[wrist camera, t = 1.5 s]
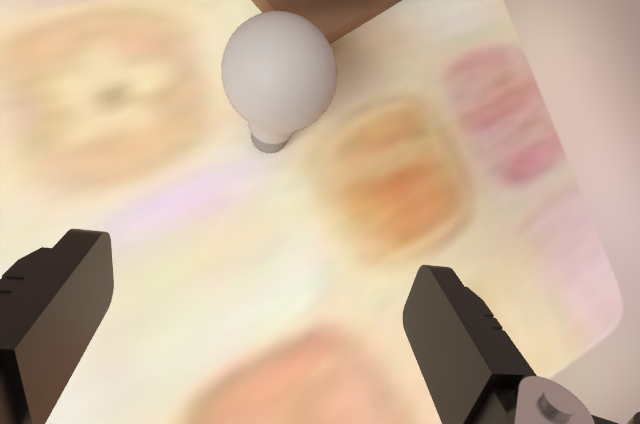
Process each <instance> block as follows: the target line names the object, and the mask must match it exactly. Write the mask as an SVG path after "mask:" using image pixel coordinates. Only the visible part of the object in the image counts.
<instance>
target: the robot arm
mask: <svg viewBox="0 0 640 424" xmlns="http://www.w3.org/2000/svg"><path fill="white" fill-rule="evenodd" d="M113 288H114V280H113V265H112V251H111V239H110V235H109V234H108V233H107V232H101V231H91V230H81V229H70V230H69V231H68V232H67V233H66V234H65V235H64V236H63V237H62V238H61V239H60V240H59V242H58V243H57V244H56V245H55V246H54V247H53V248H43V247H42V248H40V249H38V250H36V251H34V252H32V253H30V254H28V255H27V256H25V257H23V258H21V259H19V260H18V261H17V262H16V263H14V264H13V265H12V266H11V267H10V268H9V269H8V270H7V271H6V272H5V273H4V274H3V275H2V278H1V279H0V424H45V423H46V421H47V419H48V417H49V416H50V414H51V412H52V410H53V408H54V406H55V405H56V403H57V401H58V399H59V397H60V396H61V394H62V392H63V390H64V388H65V386H66V385H67V383H68V381H69V379H70V377H71V376H72V374H73V372H74V370H75V368H76V366H77V365H78V363H79V361H80V359H81V357H82V356H83V354H84V352H85V350H86V348H87V347H88V345H89V343H90V341H91V339H92V337H93V336H94V334H95V332H96V330H97V328H98V327H99V325H100V323H101V321H102V319H103V317H104V316H105V314H106V312H107V310H108V308H109V306H110V303H111V299H112V295H113ZM493 316H494V315H493V314H492V312H491V311H490V309H489V308H488V307H487V305H486V304H485V302H484V301H483V300H482V299H481V298H480V297H478V296H477V295H476V294H475V293H474V292H472V291H471V290H470V289H469V288H468V287H464V285H463V284H462V282H461V281H460V279H459V278H458V276H457V275H456V274H455V272H454V271H453V269H451V268H449V267H440V266H430V265H422V266H421V267H420V268H419V270H418V272H417V275H416V277H415V280H414V283H413V285H412V288H411V291H410V293H409V296H408V298H407V301H406V304H405V307H404V310H403V326H404V330H405V332H406V335H407V337H408V340H409V342H410V345H411V347H412V350H413V352H414V355H415V357H416V360H417V362H418V365H419V367H420V370H421V372H422V375H423V377H424V380H425V382H426V385H427V387H428V389H429V392H430V394H431V397H432V399H433V402H434V404H435V407H436V409H437V412H438V414H439V417H440V419H441V422H442V424H618V423H615V422H612V421H609V420H606V419H602V418H599V417H596V416H593V415H591V414H590V412H589V411H588V410H587V408H586V407H585V405H584V404H583V403H582V402H581V401H580V400H579V399H578V398H577V397H576V396H575V395H574V394H572V393H571V392H570V391H569V390H567V389H566V388H564V387H563V386H561V385H559V384H558V383H556V382H554V381H551V380H549V379H546V378H543V377H539V376H537V375H536V374H535V373H534V371H533V370H532V368H531V367H530V366H529V364H528V363H527V361H526V360H525V359H524V357H523V356H522V354H521V353H520V352H519V350H518V349H517V347H516V346H515V345H514V343H513V342H512V340H511V339H510V337H509V336H508V335H507V333H506V332H505V331H503V330H502V326H501V325H500V323H499V322H498V321H497V319H496V318H494V317H493ZM627 424H640V412H638V413H636V414H635V415H634V416H633V417H632V419H631V420H630V421H629V422H628V423H627Z"/></svg>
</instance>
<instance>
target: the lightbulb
mask: <svg viewBox="0 0 640 424" xmlns="http://www.w3.org/2000/svg"><path fill="white" fill-rule="evenodd" d="M221 70H222V83H223V86H224V90H225V93H226V95H227V97H228V99H229V101H230V103H231V105H232V107H233V108H234V109H235V110H236V112H237V113H238V114H239V115H240V116H241V117H242V118H244V119H245V120H246V121H247V122H248V126H249V129H250V131H251V139H252V142H253V144H254V146H255V147H256V148H257V149H258V150H260V151H262V152H265V153H275V152H278V151H279V150H281V149H282V148H283V147H284V145H285V143H286V142H287V139H288V138H289V137H290V136H291V135H292V134H293V132H294V131H298V130H300V129H303V128H306V127H308V126H309V125H311V124H312V123H314V122H315V121H316V120H317V119H318V118H319V117H320V116H321V115H322V114H323V113H324V112H325V111H326V109H327V108H328V106H329V104H330V103H331V100H332V98H333V95H334V92H335V89H336V79H337V68H336V61H335V56H334V53H333V50H332V48H331V46H330V44H329V43H328V41H327V39H326V38H325V36H324V35H323V34H322V32H321V31H320V30H319V29H318V28H317V27H316V26H314V25H313V24H312V23H311V22H310V21H308V20H307V19H305V18H303V17H301V16H299V15H297V14H294V13H290V12H285V11H271V12H265V13H262V14H258V15H256V16H254V17H252V18H250V19H248V20H247V21H245V22H244V23H243V24H242V25H240V26H239V27H238V28H237V29H236V30H235V32H234V33H233V34H232V36H231V37H230V39H229V41H228V43H227V45H226V47H225V50H224V54H223V59H222V64H221Z"/></svg>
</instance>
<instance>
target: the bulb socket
mask: <svg viewBox="0 0 640 424" xmlns="http://www.w3.org/2000/svg"><path fill="white" fill-rule="evenodd" d="M252 1H253V2H254V4H255V5H256V6H257V7H258V8H259V9H260V10H261V11H262V13H265V12H271V11H285V12H290V13H294V14H297V15H299V16H301V17H303V18H305V19H307V20H308V21H310V22H311V23H312V24H313V25H314V26H316V27H317V28H318V29H319V30H320V31H321V32H322V34H323V35H324V36H325V38H326V39H327V41H328V43H329V44H330V43H332V42H334V41H335V40H337V39H339V38H340V37H342V36H344V35H345V34H347V33H349V32H350V31H352V30H354V29H355V28H357V27H358V26H360V25H362V24H363V23H365V22H367V21H368V20H370V19H372V18H373V17H375V16H377V15H378V14H380V13H382V12H383V11H385V10H387V9H388V8H390V7H392V6H393V5H395V4H396V3H398V2H400V1H401V0H252Z"/></svg>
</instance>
